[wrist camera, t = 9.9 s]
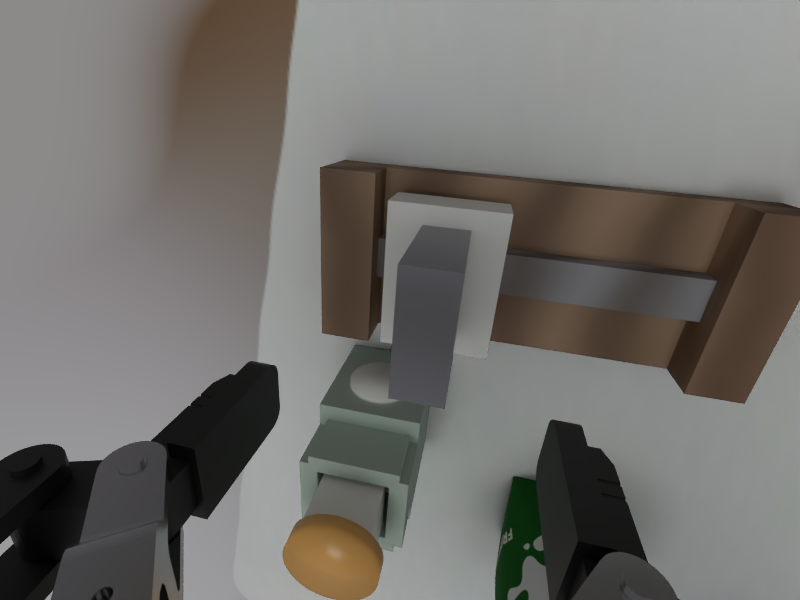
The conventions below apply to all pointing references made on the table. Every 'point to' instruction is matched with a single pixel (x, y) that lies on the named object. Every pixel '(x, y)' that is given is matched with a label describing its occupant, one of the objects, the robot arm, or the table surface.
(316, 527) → the button
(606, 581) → the robot arm
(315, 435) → the cabinet
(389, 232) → the carriage
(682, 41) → the table surface
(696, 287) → the rail bed
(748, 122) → the table surface
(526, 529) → the milk carton
